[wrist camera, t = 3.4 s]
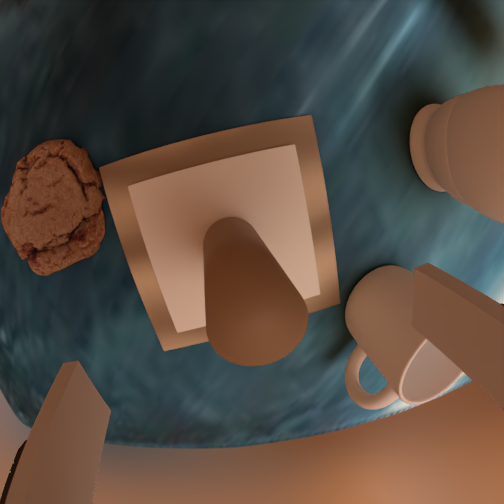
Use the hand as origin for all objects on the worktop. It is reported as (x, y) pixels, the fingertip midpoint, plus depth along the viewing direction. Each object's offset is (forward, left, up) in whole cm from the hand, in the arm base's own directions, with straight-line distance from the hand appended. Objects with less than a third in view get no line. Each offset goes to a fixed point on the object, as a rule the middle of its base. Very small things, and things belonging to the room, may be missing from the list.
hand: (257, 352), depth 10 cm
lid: (0, 0, -13) cm, 13 cm away
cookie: (-7, -13, -14) cm, 20 cm away
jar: (-4, +21, -14) cm, 26 cm away
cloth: (0, 0, -14) cm, 14 cm away
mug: (+11, +11, -14) cm, 21 cm away
